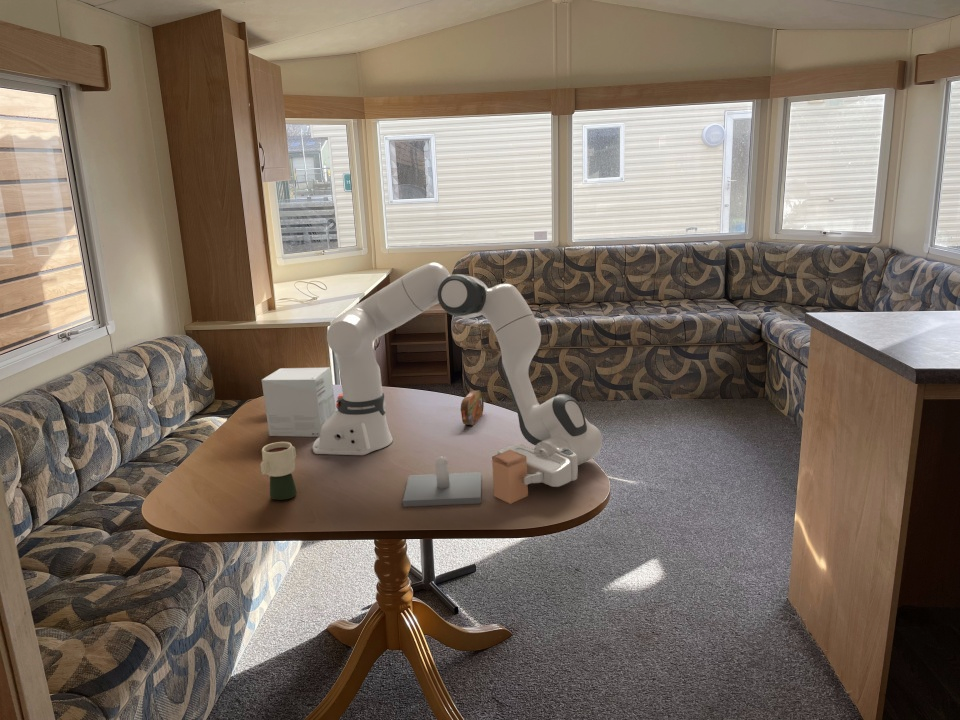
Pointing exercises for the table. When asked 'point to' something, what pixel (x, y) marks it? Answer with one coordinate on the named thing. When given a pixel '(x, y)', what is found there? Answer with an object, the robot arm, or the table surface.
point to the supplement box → (298, 401)
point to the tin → (472, 407)
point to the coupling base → (443, 496)
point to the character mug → (279, 469)
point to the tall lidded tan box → (509, 476)
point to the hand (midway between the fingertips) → (509, 474)
